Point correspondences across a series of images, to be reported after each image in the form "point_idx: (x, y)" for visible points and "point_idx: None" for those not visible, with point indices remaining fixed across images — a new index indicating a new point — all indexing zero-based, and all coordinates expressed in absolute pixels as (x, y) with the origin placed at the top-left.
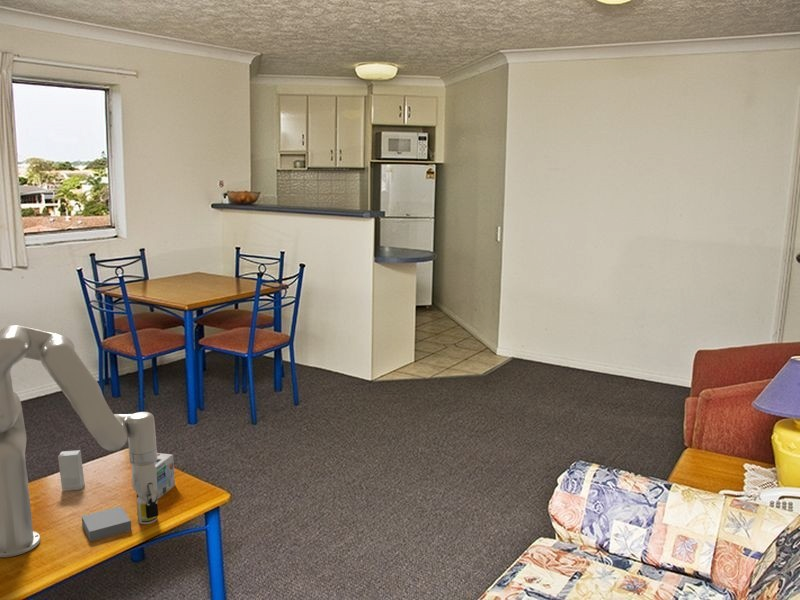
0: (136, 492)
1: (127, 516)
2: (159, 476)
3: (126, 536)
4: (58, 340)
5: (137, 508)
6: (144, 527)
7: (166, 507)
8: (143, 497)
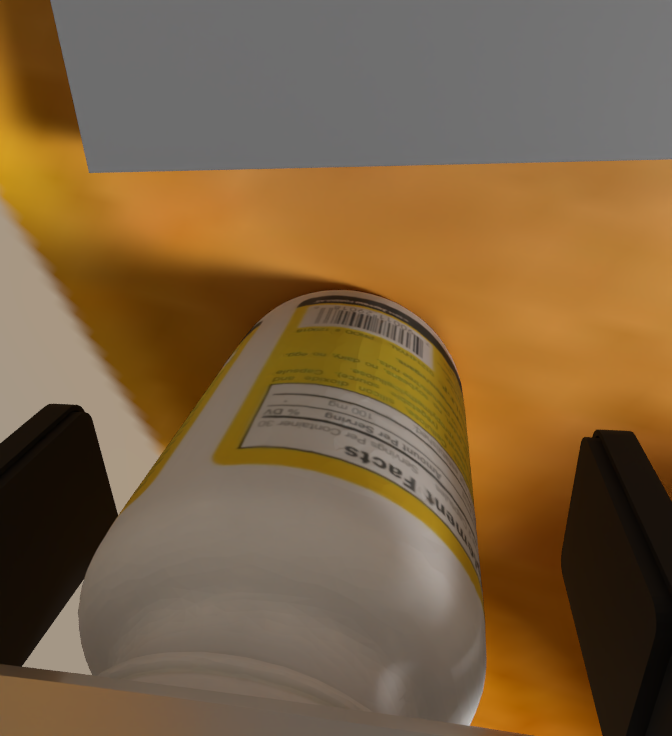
0: (80, 731)
1: (282, 158)
2: None
3: (27, 44)
4: None
5: (293, 385)
6: (187, 312)
7: (539, 618)
8: (116, 660)
